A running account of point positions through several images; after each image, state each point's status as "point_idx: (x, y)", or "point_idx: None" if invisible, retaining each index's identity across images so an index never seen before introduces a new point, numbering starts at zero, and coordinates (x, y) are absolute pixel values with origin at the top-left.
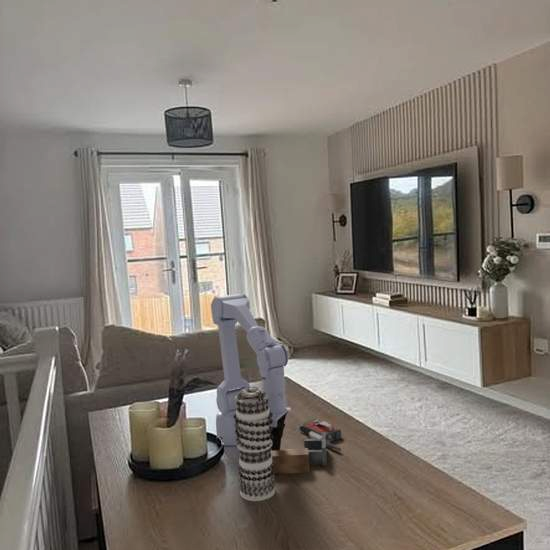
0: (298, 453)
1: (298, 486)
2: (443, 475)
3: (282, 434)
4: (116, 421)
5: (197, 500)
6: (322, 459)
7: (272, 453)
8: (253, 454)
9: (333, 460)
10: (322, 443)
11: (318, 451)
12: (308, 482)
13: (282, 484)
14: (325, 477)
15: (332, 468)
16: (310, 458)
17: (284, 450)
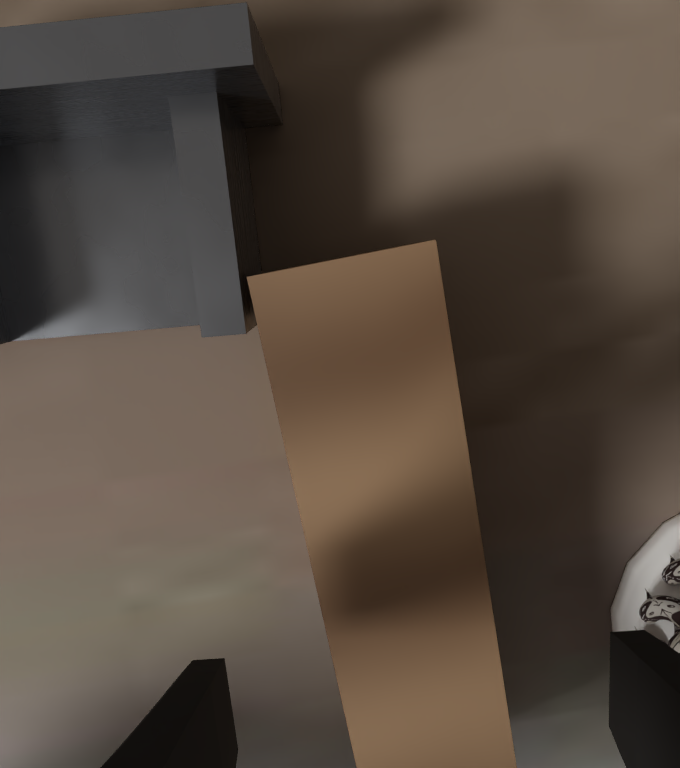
0: (417, 374)
1: (673, 312)
2: None
3: (209, 686)
4: None
5: None
6: (274, 106)
7: (428, 659)
8: None
9: None
10: (107, 68)
11: (218, 141)
12: (605, 231)
13: (634, 449)
14: (510, 73)
15: (320, 13)
16: (249, 249)
17: (343, 547)
